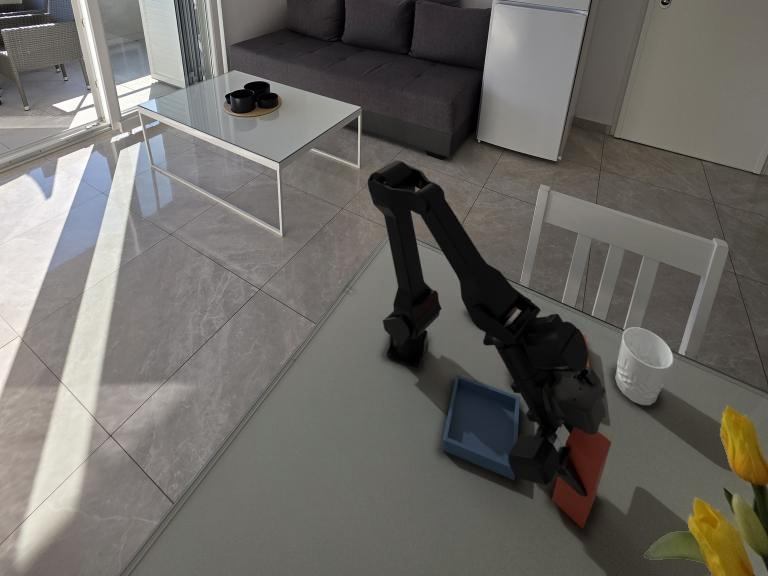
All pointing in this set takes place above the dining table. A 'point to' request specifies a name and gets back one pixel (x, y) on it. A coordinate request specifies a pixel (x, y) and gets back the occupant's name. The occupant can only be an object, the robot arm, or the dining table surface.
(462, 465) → the dining table surface
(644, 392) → the white cup
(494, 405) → the blue tray
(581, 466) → the red pillar
